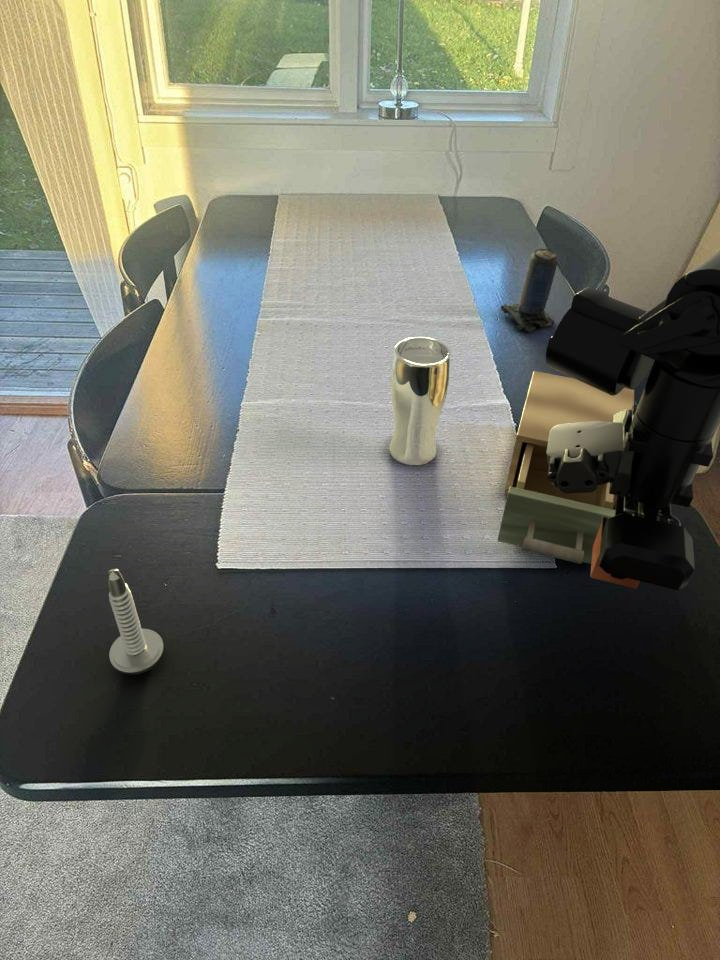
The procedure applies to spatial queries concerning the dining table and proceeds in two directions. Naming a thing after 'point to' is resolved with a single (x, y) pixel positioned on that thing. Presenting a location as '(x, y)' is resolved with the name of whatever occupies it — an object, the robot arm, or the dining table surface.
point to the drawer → (552, 513)
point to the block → (600, 573)
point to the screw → (131, 632)
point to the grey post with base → (535, 291)
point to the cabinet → (560, 412)
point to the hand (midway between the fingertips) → (617, 559)
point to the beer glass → (418, 397)
